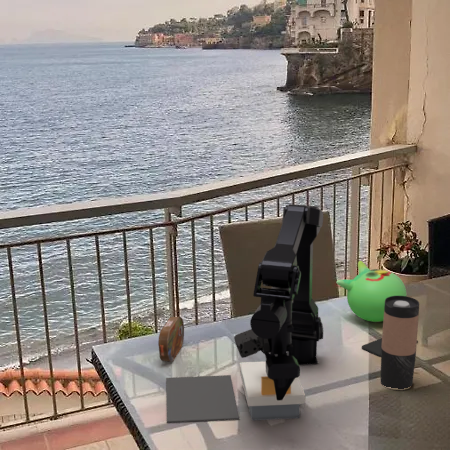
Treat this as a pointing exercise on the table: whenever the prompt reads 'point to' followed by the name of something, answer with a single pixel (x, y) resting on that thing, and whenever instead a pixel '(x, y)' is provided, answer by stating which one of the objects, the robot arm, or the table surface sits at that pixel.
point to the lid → (266, 387)
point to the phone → (374, 347)
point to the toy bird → (371, 291)
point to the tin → (171, 339)
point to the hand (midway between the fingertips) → (275, 389)
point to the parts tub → (274, 412)
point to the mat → (200, 399)
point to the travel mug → (399, 341)
